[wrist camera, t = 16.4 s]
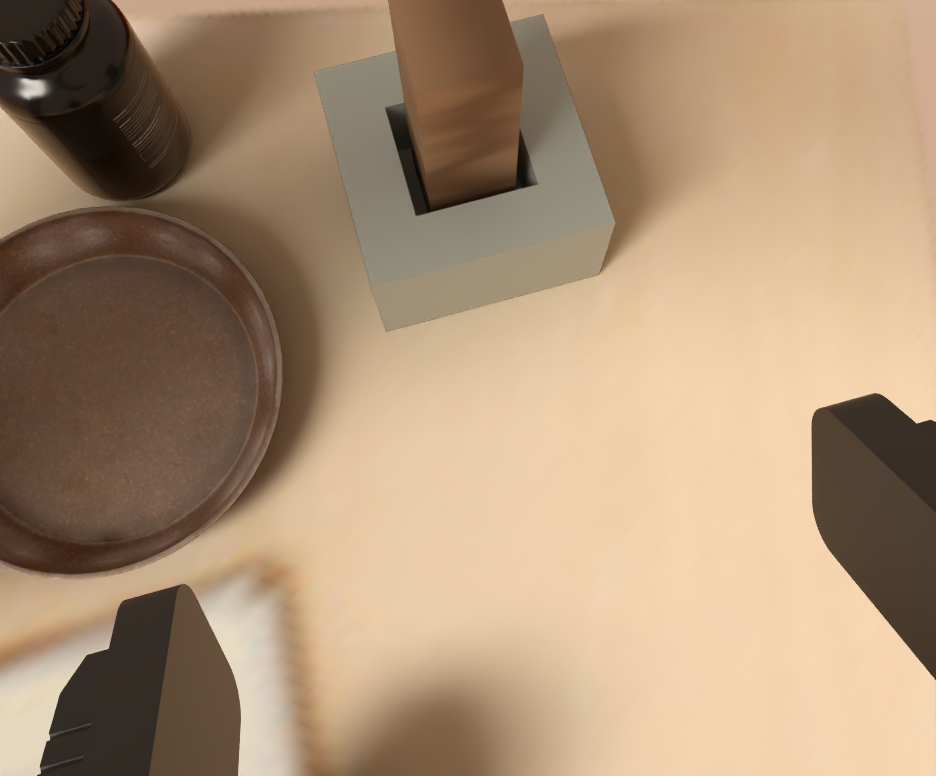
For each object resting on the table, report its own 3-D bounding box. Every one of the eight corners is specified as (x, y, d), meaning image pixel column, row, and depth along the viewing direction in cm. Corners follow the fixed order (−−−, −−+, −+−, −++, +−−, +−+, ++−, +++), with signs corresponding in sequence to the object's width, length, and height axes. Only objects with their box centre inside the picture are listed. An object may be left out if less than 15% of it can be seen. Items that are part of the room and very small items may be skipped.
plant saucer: (179, 648, 41) (155, 650, 38) (-136, 482, 43) (-182, 471, 40) (358, 317, 45) (349, 296, 42) (60, 180, 47) (32, 150, 44)
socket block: (385, 331, 44) (371, 287, 39) (335, 139, 47) (313, 71, 41) (598, 274, 45) (615, 222, 39) (536, 88, 48) (543, 14, 42)
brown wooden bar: (434, 234, 43) (415, 92, 32) (413, 162, 44) (388, -1, 33) (513, 213, 44) (523, 65, 32) (491, 142, 45) (493, -27, 33)
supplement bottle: (154, 67, 48) (49, -108, 37) (216, 161, 47) (128, 9, 35) (40, 132, 48) (-103, -26, 36) (101, 230, 46) (-28, 98, 34)
